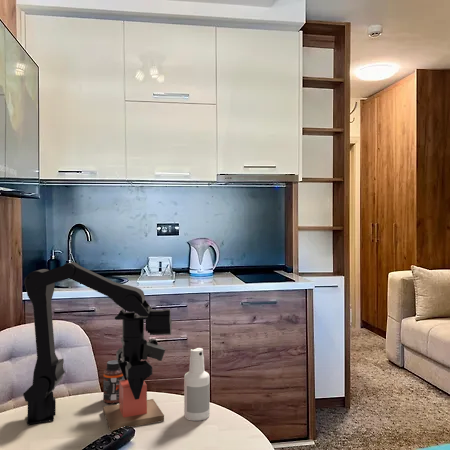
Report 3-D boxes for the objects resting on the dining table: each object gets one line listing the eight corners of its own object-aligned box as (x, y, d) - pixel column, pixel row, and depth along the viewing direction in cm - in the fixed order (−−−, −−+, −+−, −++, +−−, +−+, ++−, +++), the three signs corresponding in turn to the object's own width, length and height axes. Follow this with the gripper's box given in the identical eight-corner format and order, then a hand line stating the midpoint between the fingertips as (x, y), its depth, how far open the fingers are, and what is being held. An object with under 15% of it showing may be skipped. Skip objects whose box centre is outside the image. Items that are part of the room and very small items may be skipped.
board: (109, 430, 111) (109, 424, 111) (103, 412, 122) (103, 406, 122) (164, 420, 116) (164, 415, 116) (153, 404, 127) (153, 398, 127)
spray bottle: (194, 423, 114) (194, 354, 115) (179, 415, 120) (179, 349, 120) (214, 416, 119) (214, 349, 119) (199, 408, 124) (199, 344, 124)
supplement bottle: (118, 405, 127) (118, 365, 127) (99, 403, 128) (99, 364, 128) (127, 397, 133) (127, 359, 133) (109, 395, 134) (109, 358, 134)
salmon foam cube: (123, 417, 115) (123, 388, 115) (119, 408, 121) (119, 380, 121) (146, 413, 117) (146, 384, 117) (141, 404, 123) (141, 377, 123)
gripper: (171, 340, 114) (171, 400, 114) (154, 325, 131) (154, 378, 131) (128, 344, 109) (128, 408, 109) (115, 329, 126) (116, 383, 126)
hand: (133, 393), depth 119 cm, fingers open, 9 cm apart
